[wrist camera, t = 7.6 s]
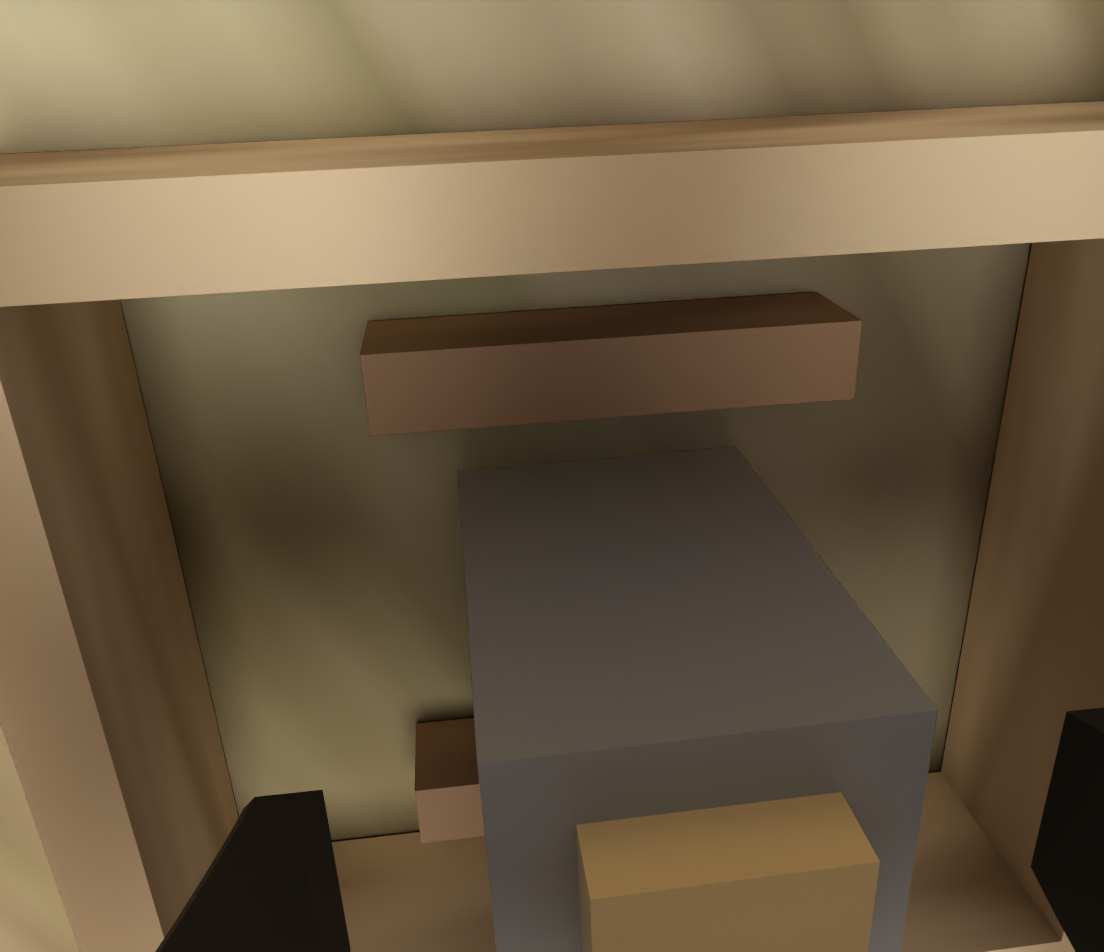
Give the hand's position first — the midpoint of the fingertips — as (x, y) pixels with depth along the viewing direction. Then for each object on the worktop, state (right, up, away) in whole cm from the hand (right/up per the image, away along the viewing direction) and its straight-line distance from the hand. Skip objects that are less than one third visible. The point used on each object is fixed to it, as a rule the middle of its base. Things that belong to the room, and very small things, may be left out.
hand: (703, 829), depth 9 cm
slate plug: (-1, +2, +5) cm, 6 cm away
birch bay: (-1, +2, +5) cm, 5 cm away
